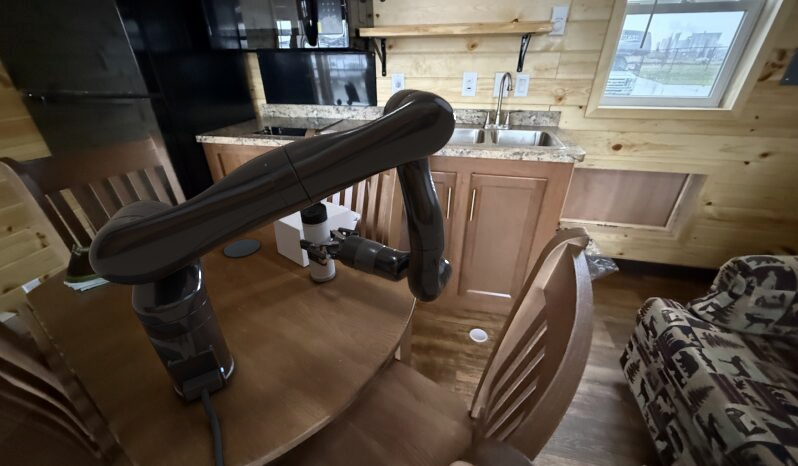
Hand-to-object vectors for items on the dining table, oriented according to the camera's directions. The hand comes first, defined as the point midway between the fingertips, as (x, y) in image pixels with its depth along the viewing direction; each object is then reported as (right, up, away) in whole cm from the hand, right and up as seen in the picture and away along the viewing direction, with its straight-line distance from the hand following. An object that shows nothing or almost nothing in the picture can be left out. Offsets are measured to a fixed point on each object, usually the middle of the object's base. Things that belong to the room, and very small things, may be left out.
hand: (310, 237), depth 79 cm
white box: (-9, -1, +8) cm, 12 cm away
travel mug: (+2, -10, +5) cm, 11 cm away
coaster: (-25, -4, +15) cm, 30 cm away
